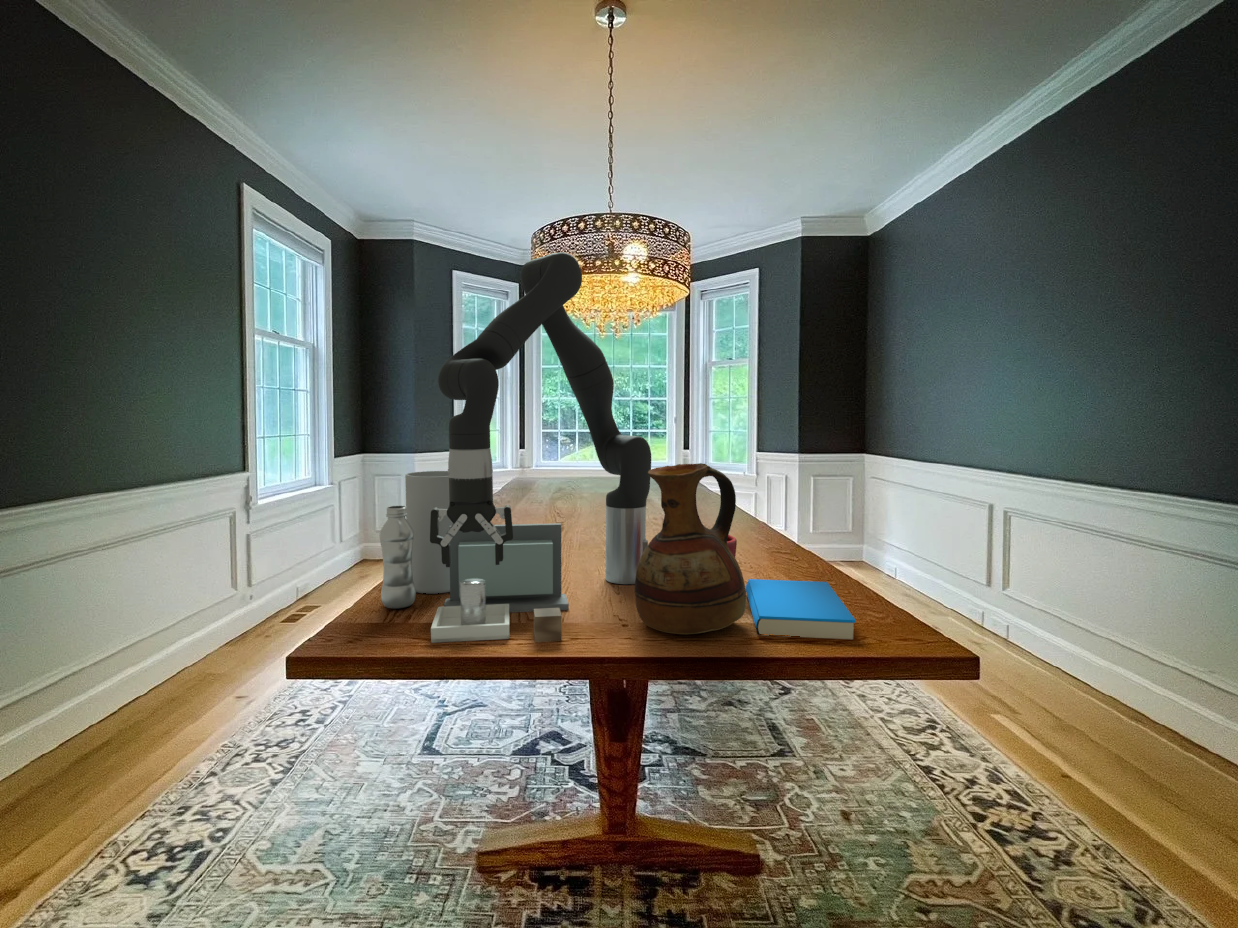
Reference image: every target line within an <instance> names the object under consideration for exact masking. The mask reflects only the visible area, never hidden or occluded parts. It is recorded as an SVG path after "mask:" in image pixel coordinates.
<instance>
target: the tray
mask: <svg viewBox="0 0 1238 928" xmlns="http://www.w3.org/2000/svg"><path fill="white" fill-rule="evenodd" d="M443 606H444V605H443ZM443 606H438V607H437V609H436V612H435V615H434V618H433V621H432V624H431V627H430V643H433V644H434V643H436V644H437V643H452V642H453V643H454V642H455V643H456V642H471V641H473V642H474V641H490V640H491V641H494V640H510V612H509V604H491V605H486V624H479V625H461V606H444V607H443Z"/></svg>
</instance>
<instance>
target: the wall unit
mask: <svg viewBox="0 0 1238 928" xmlns="http://www.w3.org/2000/svg"><path fill="white" fill-rule="evenodd" d="M493 525H494V526H495V528H496V529H497V530H498V532H499V533H500V534H501V535H502V534H504V533H506V528H505V524H493ZM450 528H451V526H449V529H450ZM512 528H513V539H512V540H509V541H506V542H504V544H503V561H501V562H500V564H499V565H496V564H495V540H494V539H493V538H492V537H491V536H490V535H489V534H488V533H487V532H486V530H483V531H481V532H473V531H471V532H467V533H463V532H461V531H459V530H458V531H457V533H456V534H455V535H454V537H453V538H452V539H451V541H450V542H449V544H450V552H451V566H450V592H449V597H448V598H445V600H444V604H443V606H442V607H444V606H461V602H460V582H461V581H463V580H466V579H483V580H485V581H486V605H491V604H509V613H528V612H530V613H531V612H534V609H541V608H560V611H569V607H570V605H569V601H568V597H567V594H566V593H562V523H561V522H558V523H557V522H556V523H554V522H553V523H521V524H520V523H518V524H517V523H516V524H515V523H514V524H513V523H512Z"/></svg>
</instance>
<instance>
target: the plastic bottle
mask: <svg viewBox="0 0 1238 928" xmlns="http://www.w3.org/2000/svg"><path fill="white" fill-rule="evenodd" d="M406 516H407V513H406V505H389V506H387V507H386V514H385V517H386V518H387V520H386V521H385V522H384V524H383V525H382V527H381V529H380V531H379V540H380V541H379V543H380V548H381V553H382V554H381V555H382V562H383V575H382V586H381V591H380V592H381V593H380V598H381V603H382V605H383V606H384V607H385V608H387V609H403V608H407V607H410V606H412V605H413V604H414V602H415V600H416V596H417V592H416V590H415V585H414V582H413V573H412V561H411V559H412V548H413V540H414V539H413V538H414V531H413V528H412V527H411V525H410V524H409V522H408V521H407V520H406Z"/></svg>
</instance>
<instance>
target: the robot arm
mask: <svg viewBox="0 0 1238 928" xmlns="http://www.w3.org/2000/svg"><path fill="white" fill-rule="evenodd" d="M520 280H521V281H520V282H521V285H522V289H523V291H524V294H525V295H523V296H522V297H521V298H520V299H518V300H517V301H515V302H514V303H512V304H511V305H510V306H508V307H507V308H505V309H504V310H503V311H501V312H500V313H499V314H497V316H496V317H494V318H493V319H492V320H491V322H489V323H488V325H487V326H486V327H485V328H484V329H483V330H482V331H481V333H480V334H479V335H478V336H477V338H476V339H475V340H473V341H471V342H470V343H468V344H467V345H465V346H464V347H462V348H461V349H460V350H458V351H456V353H454V354H453V355H451V356H450V357H449V358H448V359H446V361H445V362H444V364H443V365H441V366H442V367H441V368H440V371H439V372H438V379H437V383H438V387H439V390H440V393H442V394H443V396H445V397H446V398H448V399H450V400H453V401H465V403H464V406H463V410H462V412H461V413H459V414H456V415H454V416H452V417H451V418H450V419H449V421H448V445H449V446H448V447H449V450H448V451H449V453H448V461H447V463H448V467H447V468H448V469H447V471H448V475H449V507H448V509H438V508H437V507H435V508H433V509H432V511H431V519H430V542H431V543H435V544H439V545H440V546H441V554H442V563H443V564H446V567H450V566H451V552H450V544H449V542H450V541H451V539H452V538H453V537H454V535H455V534H456V533H457V531H458V530H459V531H461V532H463V533H467V532H471V531H473V532H481V531H483V530H486V532H487V533H488V534H489V535H490V536H491V537H492V538H493V539H494V540H495V564H496V565H499V564H500V562H501V561H503V544H504V542H506V541H509V540H512V539H513V528H512V524H513V516H512V507H511V505H510V504H506V505H504V506H499V507H495V505H494V487H493V486H494V481H493V480H494V477H493V472H494V469H493V458H492V452H491V424H492V423H491V422H492V420H493V419H492V418H493V415H494V411H495V406H496V403H497V397H498V392H499V388H500V387H499V385H500V384H499V376H498V372H497V370H500V369H502V368H504V367H506V366H507V365H508V364H510V362H511V360H513V358H514V357H515V355H516V354H517V353H518V352H519V351H520V350H521V349H522V347H523V345H524V344H525V343H526V342H527V340H529V339H530V337H531V336H532V335H533V334H534V333H535V331H537V330H538V328H539V327H541V326H542V327H543V330H544V331H545V333H546V335H547V337H548V338H549V340H550V342H551V346H552V347H553V350H554V351H555V353H556V356H557V358H558V360H559V363H560V364H561V368H562V370H563V372H564V374H565V377H566V379H567V381H568V383H569V386H570V388H571V391H572V393H573V394H574V396H575V399H576V401H577V403H578V406H579V409H580V411H581V412H582V415H583V418H584V420H585V422H586V425H587V428H588V430H589V431H588V432H589V433H590V437H591V439H592V440H591V441H592V442H593V443H592V444H593V446H594V449H595V453H596V456H597V458H598V461H599V463H600V466H601V467H602V468H603V470H605V472H607V473H608V474H610V475H615V476H619V484H618V486H617V487H616V488H615V489H614V490H611V491H609V492H607V494H606V496H605V571H604V572H605V573H604V574H605V580H606V581H607V582H609V583H613V584H617V585H635V579H636V571H637V567H638V563H639V561H640V558H641V555H642V554H643V552H644V550H645V549H646V547H647V546H648V544H649V541H648V539H647V500H648V496H649V493H650V490H651V489H650V487H651V477H650V476H649V475H648V471H649V470H650V469H652V450H651V447H650V444H649V442H648V441H647V439H645V438H644V437H643V436H639V435H629V434H628V435H623V434H622V433H621V431H620V430H619V428H618V425H617V423H616V421H615V418H614V415H613V409H612V408H613V407H612V406H613V399H614V389H615V386H614V385H615V384H614V377H613V375H612V372H611V369H610V366H609V365H608V361H607V359H606V356H605V354H604V353H603V351H602V349H601V348H600V347H599V345H597V344H596V342H594V341H593V340H592V338H590V337H589V336H588V335H587V334H586V333H585V332H584V331H582V330H581V329H580V328H579V327H578V326H577V325H576V324H575V323H574V321H573V320H572V319H571V318H570V317H569V315H568V313H567V310H566V308H565V306H564V304H566V303H567V302H569V301H571V299H572V298H573V297H575V296H576V295H577V294H578V292H580V289H581V287H582V284H583V283H582V282H583V273H582V269H581V266H580V264H579V262H578V260H577V259H576V258H575V256H573V255H572V254H570V253H567V252H562V251H561V252H553V253H550V254H547V255H543V256H541V257H537V258H534V259H531V260H529V261H527V262H525V263H524V264H523V266H522V267H521V271H520ZM497 514H498V515H499V517H500V519H501V520H504V525H505V528H506V533H504V534H502V535H501V534H500V533H499V532H498V530H497V529H496V528H495V526H494V525H495V524H493V523H492V520H493V519H494V518H495V516H496V515H497ZM445 515H447V516H448V518H449V519H450V520H451V521H452V523H453V525H452V526H451V528H450V529H449V530H448V532H447V533H446V534H445V536H444V537H442V536H439V535H438V534H439V521H442V519H443V517H444V516H445Z"/></svg>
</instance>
